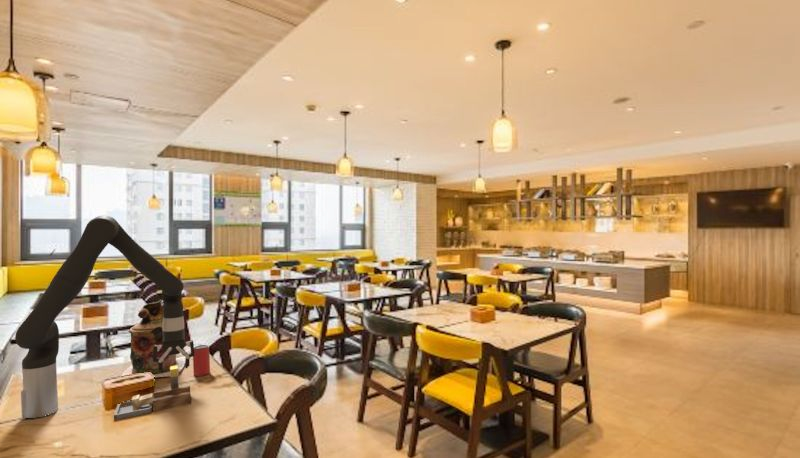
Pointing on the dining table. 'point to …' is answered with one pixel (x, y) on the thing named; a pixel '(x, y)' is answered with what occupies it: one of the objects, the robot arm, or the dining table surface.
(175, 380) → the scraper
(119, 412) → the tray
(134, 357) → the cookie jar
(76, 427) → the dining table surface
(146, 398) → the chip
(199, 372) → the beer can
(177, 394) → the slot block
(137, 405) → the chip
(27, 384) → the robot arm
